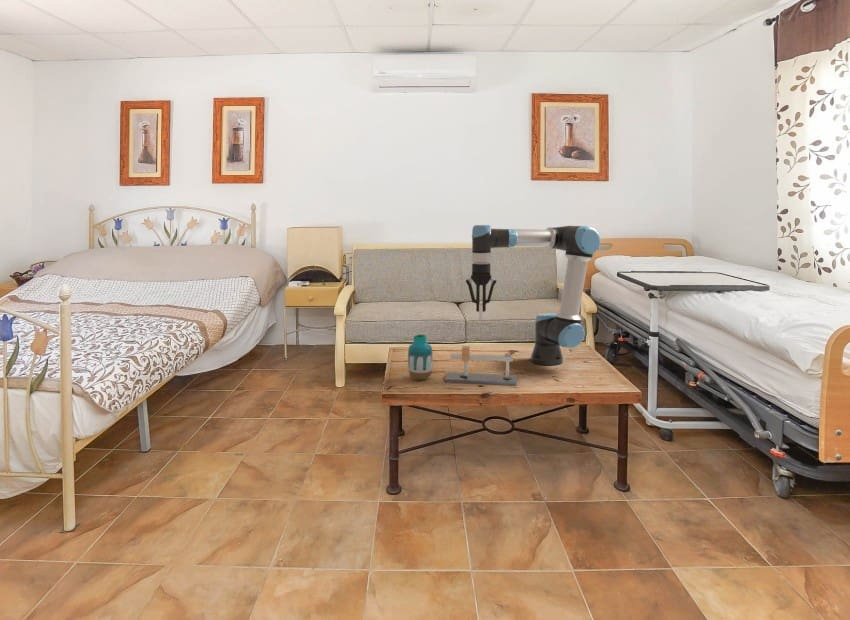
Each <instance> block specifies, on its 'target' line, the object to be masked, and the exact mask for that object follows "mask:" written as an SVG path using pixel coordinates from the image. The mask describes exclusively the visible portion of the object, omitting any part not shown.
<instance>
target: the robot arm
mask: <svg viewBox="0 0 850 620" xmlns="http://www.w3.org/2000/svg"><path fill="white" fill-rule="evenodd" d="M471 232H472V233H471V234H472V235H471V239H472V240H471V245H472V246H471V247H472V250H471V251H472V252H471V262H472V264H471V265H472V266H471V274H470V275H471V276H470V277H469V278H468V279H466V280H465V284H466V285H467V286H468V290H469V295H470V299H471V303H475V304H476V310H475V311H476V312H477V313H478V320H479V321H483V320H484V313H485V312H486V309H487V308H486V307H487V304H489V303H490V302H491V298H492V295H493V290H494V289H495V288H494V287H495V285H496V284H497V279H495V278H493V277H492V274H491V263H490V262H491V257H492V256H491V250H492V249H495V248H496V249H497V248H498V249H499V248H500V249H501V248H502V249H503V248H507V249H508V248H515V247H545V248H546V249H549V250H550V249H552V250H558V251H564V252H565V254H564V255H565V257H566V258H567V263H566V271H565V276H564V283H563V289H562V295H561V299H560V300H561V301H560V306H559V312H557V313H541V314H540V313H539V314H537V316H536V317H535V322H534V323H535V330H534V331H535V334H534V335H535V337H534V347H533V350H532V352H531V355H530V362H532V363H534V364H538V365H543V366H557V365H561V364H563V363H564V355H563V353H562V348H567V349H575V348H576V347H578V346H579V345H580V344H581V343H582V342H583V340H584V338H585V332H586V331H585V329H584V327H583V325H582V320H583V319H582V318H581V316H580V311H581V305H582V299H583V292H584V287H585V281H586V277H587V275H586V273H587V269H588V264H589V261H591V260H592V259H593V254H594V253H596V252H597V251H598V250H599V249H600V246H601V236H600V233H599V232H598V231H597V230H596V228H594V227H592V226H586V225H565V226H556V227H551V226H550V227H549V226H548V227H547V228H545V229H536V228H535V229H532V228H529V229H528V228H524V229H523V228H492V226H491V225H490V224H475V225H473V226H472V231H471ZM489 282H490V288H489V292H488V296H487V285H488V284H489ZM472 283H474V284H475V286H476V287H475V288H476V289H475V291H476V293H475V294H474V288H473V284H472ZM481 286H482V303H480V302H481V301H480V299H481V296H480V295H481V293H480V292H481V290H480V289H481V288H480V287H481ZM475 295H476V298H475ZM561 347H562V348H561Z"/></svg>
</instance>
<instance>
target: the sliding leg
mask: <svg viewBox="0 0 850 620" xmlns="http://www.w3.org/2000/svg"><path fill="white" fill-rule="evenodd" d="M470 349H471V346H470V345H462V347H461V354H462V359H461V361H463V373H464V376H467V375H468V373H469V372H468V370H469V369H468V365H469V363H468V362H469V361H470V360H469V354H471V350H470Z"/></svg>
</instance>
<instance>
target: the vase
mask: <svg viewBox="0 0 850 620" xmlns="http://www.w3.org/2000/svg"><path fill="white" fill-rule="evenodd" d="M433 358H434V357H433V348H432V346H431V344H430V343H428V341H427V335H426V334H422V333H421V334H414V335H413V342H412V343H411V344H410V345H409V346H408V350H407V368H408V373H409V375H410V377H411V378H412V379H414V380H417V381H418V380H419V381H422V380H426V379H429V378H430V377H431V375H432V372H433Z"/></svg>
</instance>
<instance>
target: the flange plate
mask: <svg viewBox="0 0 850 620" xmlns="http://www.w3.org/2000/svg"><path fill="white" fill-rule="evenodd" d="M444 383H456V384H457V383H458V384H459V383H461V384H462V383H463V384H478V385H479V384H480V385H496V386H497V385H500V386H501V385H502V386H517V385H518V375H514V374H509V379H506V374H491V373H472V372H471V373H469V372H468V375H467V376H464V372H453V371H452V372H451V371H449V372H447V374H446V375H445V378H444Z"/></svg>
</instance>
